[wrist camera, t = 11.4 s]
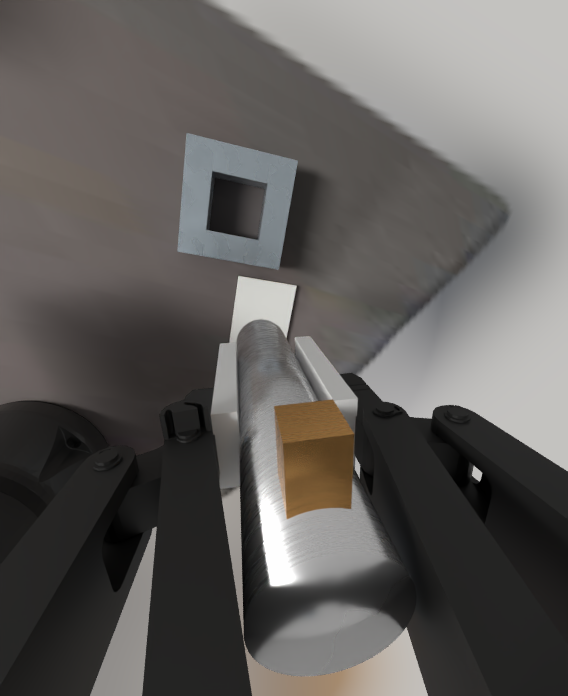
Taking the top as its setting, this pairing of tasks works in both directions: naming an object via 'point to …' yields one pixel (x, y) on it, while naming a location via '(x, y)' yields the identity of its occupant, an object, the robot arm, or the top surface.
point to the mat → (261, 304)
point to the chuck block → (240, 167)
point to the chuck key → (308, 524)
